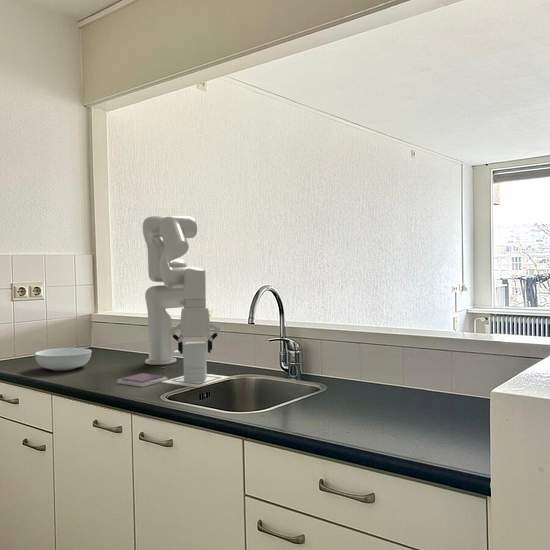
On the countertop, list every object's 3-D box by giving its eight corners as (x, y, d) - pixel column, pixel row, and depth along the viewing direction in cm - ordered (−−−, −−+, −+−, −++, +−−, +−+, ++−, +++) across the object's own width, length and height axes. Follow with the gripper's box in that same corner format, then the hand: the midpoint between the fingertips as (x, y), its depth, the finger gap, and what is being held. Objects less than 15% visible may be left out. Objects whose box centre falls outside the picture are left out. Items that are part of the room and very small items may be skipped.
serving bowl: (73, 374, 212) (73, 356, 212) (23, 373, 217) (23, 355, 216) (101, 364, 233) (101, 347, 233) (55, 363, 237) (54, 347, 237)
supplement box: (207, 376, 203) (206, 341, 202) (204, 381, 195) (204, 344, 195) (186, 377, 203) (185, 341, 202) (183, 381, 195) (182, 344, 195)
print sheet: (195, 373, 211) (195, 372, 211) (230, 377, 202) (230, 376, 202) (161, 382, 195) (161, 381, 195) (197, 387, 187) (197, 386, 187)
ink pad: (142, 376, 206) (142, 372, 206) (167, 380, 199) (167, 375, 199) (117, 383, 196) (116, 378, 196) (142, 386, 189) (142, 382, 189)
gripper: (169, 305, 193) (170, 355, 194) (221, 304, 196) (221, 353, 197) (169, 303, 200) (169, 351, 201) (218, 302, 204) (218, 349, 205)
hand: (195, 352), depth 199 cm, fingers open, 9 cm apart
